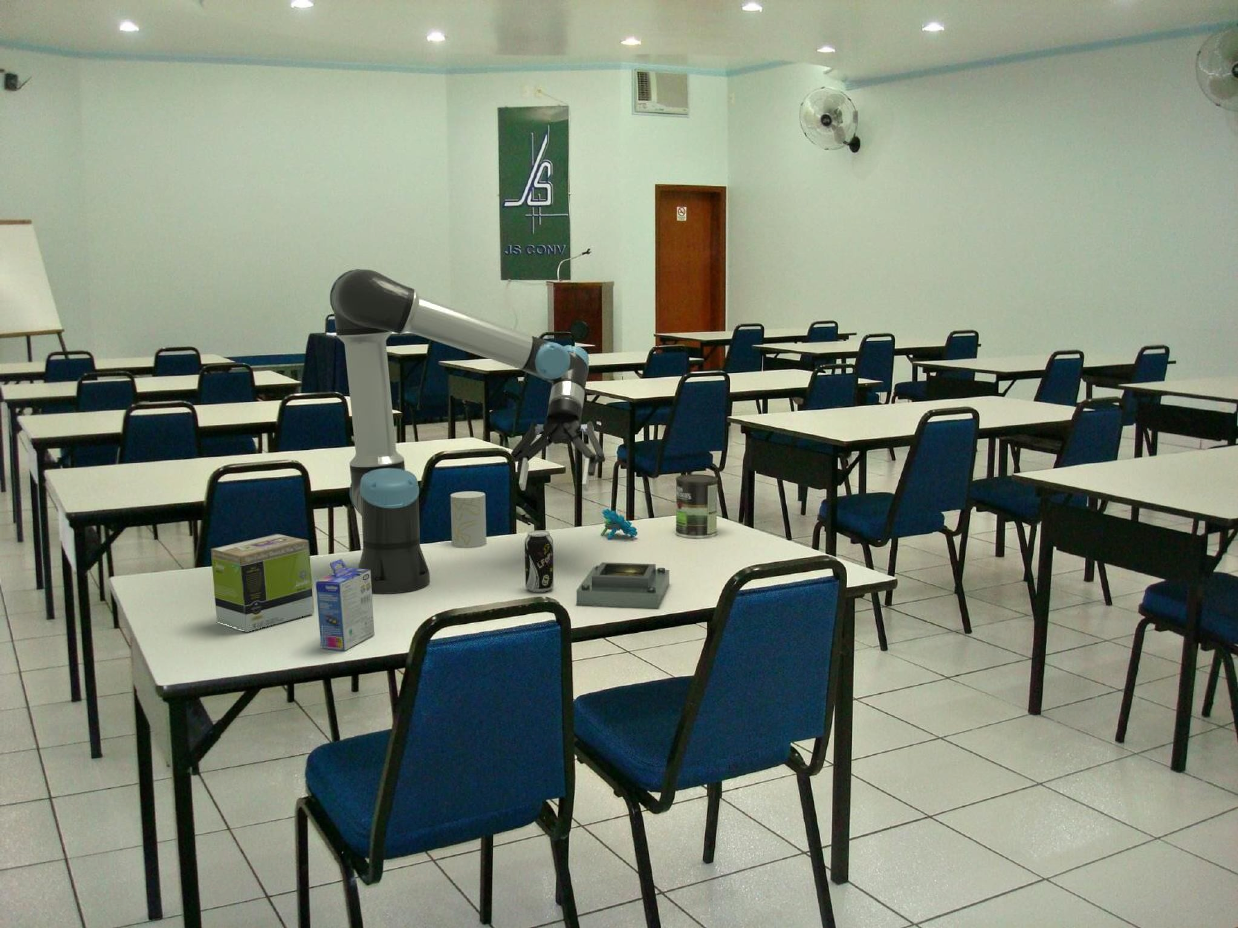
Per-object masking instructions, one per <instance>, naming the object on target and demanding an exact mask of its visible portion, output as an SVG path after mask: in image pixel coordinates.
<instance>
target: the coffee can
mask: <svg viewBox="0 0 1238 928" xmlns="http://www.w3.org/2000/svg"><path fill="white" fill-rule="evenodd" d="M718 482H719V479H718V477H717V476H714V475H709V474H698V473H695V474H693V473H692V474H682V475H678V476H676V477H675V483H676V487H675V488H676V491H675V493H676V497H675V499H676V501H675V503H676V505H675V534H676V536H678V537H681V538H686V539H700V540H701V539H708V538H713V537H716V536H718V532H717V531H718V530H717V527H718V526H717V523H718V521H717V520H718V514H717V513H718Z"/></svg>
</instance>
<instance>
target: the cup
mask: <svg viewBox="0 0 1238 928" xmlns="http://www.w3.org/2000/svg"><path fill="white" fill-rule="evenodd" d="M486 515H487V514H486V493H485V492H482V491H474V490H473V491H459V492H454V493H451V494H450V516H451V519H450V520H451V545H452V547H454V548H458V549H459V548H461V549H474V548H481V547H483V546H484V547H485V546H486V545H487V517H486Z"/></svg>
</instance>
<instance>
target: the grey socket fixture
mask: <svg viewBox="0 0 1238 928" xmlns="http://www.w3.org/2000/svg"><path fill="white" fill-rule="evenodd" d="M656 566H657V565H656V563H637V562H636V563H633V562H628V563H627V562H603V561H601V563H600V564H599V565H595V566H594V567H592V568H591V570H590V571H589V573H588V574H587V576H586V577H585V578H584V579H583V581H582V582H581V583H580V584H579V586H578V588H577V589H576V606H585V607H587V606H588V607H605V608H606V607H608V608H632V609H635V608H636V609H655V610H657V609H659V608H660V607H661V604H662V601H663V599H664V597H665V596H666V592H667V590H668V588H669V585H670V569H666V568H664V567H656ZM656 568H657V569H656Z"/></svg>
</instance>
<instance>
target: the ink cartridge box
mask: <svg viewBox="0 0 1238 928" xmlns="http://www.w3.org/2000/svg"><path fill="white" fill-rule="evenodd" d="M338 565H341V566H342V567H341V568H338V569H336V566H338ZM329 566H330V568H331V570H332V574H329V575H327V576H325V577H323V578H321V579H319V580H317V581H315V590H316V591H315V592H316V602H317V614H318V615H317V616H318V625H319V628H318V629H319V639H320V647H322V649H328V650H335V651H341V652H344V651H347V650H348V649H350V648H353V647H354V646H356V645H357V644H359V643H362V642H363V641H364V640H366V639H367V640H368V639H369V638H371V637H372V636H374V635H375V623H374V620H375V619H374V606H373V605H374V604H373V592H372V588H371V572H370V570H369V569H359V568H358V567H357V568H356V567H347V566H346V564H345V562H344V560H343V559H342V558H340V559H338V560H335V561H333V562H330V563H329Z"/></svg>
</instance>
